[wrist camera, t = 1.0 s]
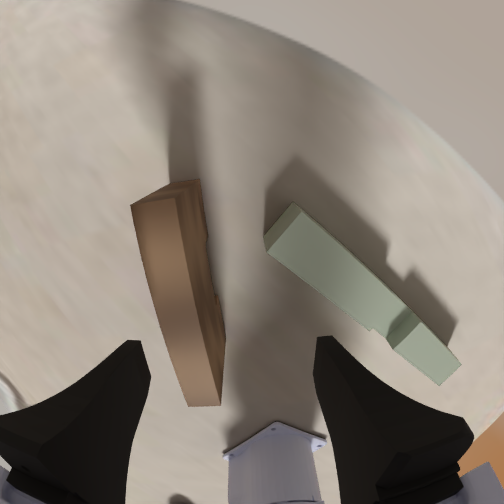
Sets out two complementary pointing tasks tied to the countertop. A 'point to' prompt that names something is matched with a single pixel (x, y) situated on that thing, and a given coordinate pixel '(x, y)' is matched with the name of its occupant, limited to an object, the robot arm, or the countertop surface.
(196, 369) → the walnut plate
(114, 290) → the countertop surface
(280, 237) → the slotted rail
